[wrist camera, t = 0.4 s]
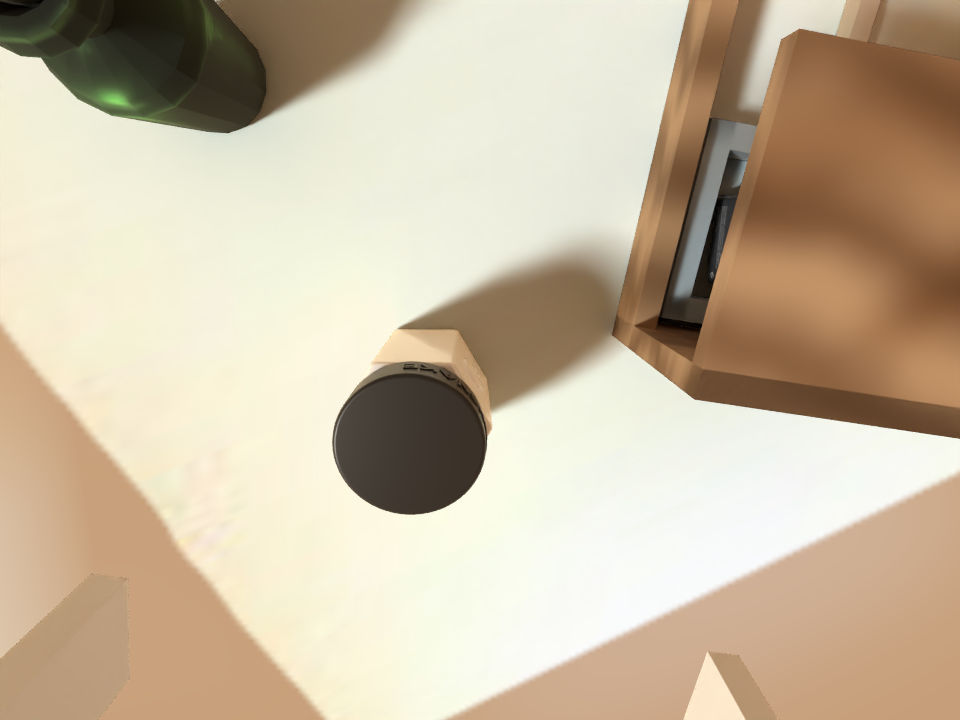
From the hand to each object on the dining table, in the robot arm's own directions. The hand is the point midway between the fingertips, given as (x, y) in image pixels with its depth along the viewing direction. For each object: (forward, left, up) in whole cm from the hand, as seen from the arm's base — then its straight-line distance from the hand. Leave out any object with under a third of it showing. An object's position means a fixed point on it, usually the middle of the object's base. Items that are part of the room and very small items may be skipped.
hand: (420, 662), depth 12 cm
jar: (+2, -2, -27) cm, 27 cm away
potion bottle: (-16, -18, -27) cm, 36 cm away
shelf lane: (-15, +22, -27) cm, 38 cm away
